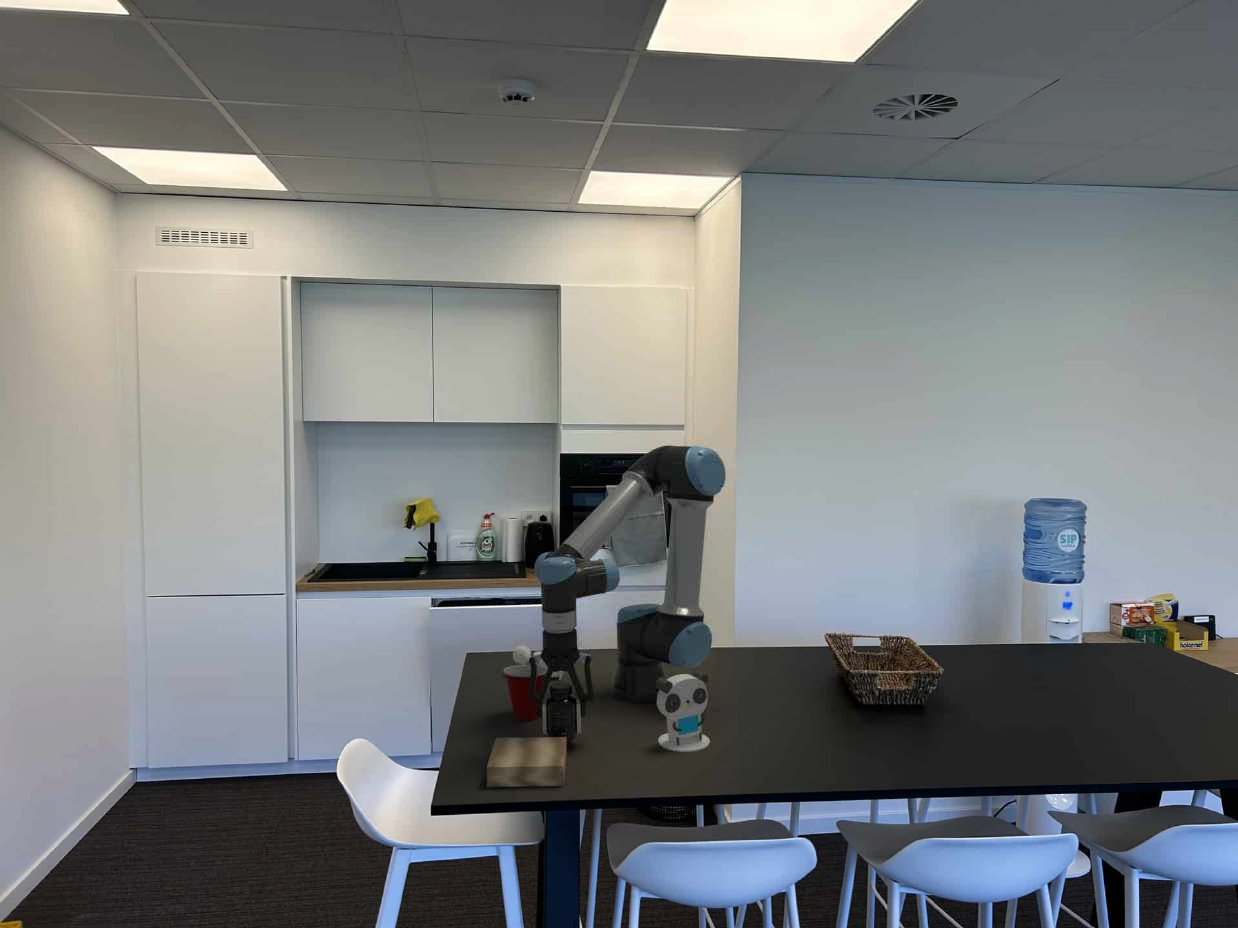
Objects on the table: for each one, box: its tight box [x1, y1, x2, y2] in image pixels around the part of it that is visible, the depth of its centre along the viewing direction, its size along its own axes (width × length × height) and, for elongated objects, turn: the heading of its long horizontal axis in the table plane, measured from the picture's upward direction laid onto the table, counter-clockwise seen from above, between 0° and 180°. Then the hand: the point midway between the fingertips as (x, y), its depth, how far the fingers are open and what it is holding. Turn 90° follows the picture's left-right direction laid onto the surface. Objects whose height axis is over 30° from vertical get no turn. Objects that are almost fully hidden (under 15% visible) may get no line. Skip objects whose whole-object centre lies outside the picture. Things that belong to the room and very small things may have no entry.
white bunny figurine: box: [512, 644, 565, 681], centre depth 241 cm, size 9×8×15 cm
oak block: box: [486, 736, 568, 788], centre depth 179 cm, size 15×15×4 cm
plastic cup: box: [503, 664, 548, 722], centre depth 209 cm, size 11×11×12 cm
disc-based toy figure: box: [655, 670, 711, 753], centre depth 193 cm, size 12×11×15 cm
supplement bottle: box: [545, 681, 579, 744], centre depth 192 cm, size 7×7×12 cm
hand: (562, 730), depth 192 cm, fingers closed on supplement bottle, 7 cm apart
